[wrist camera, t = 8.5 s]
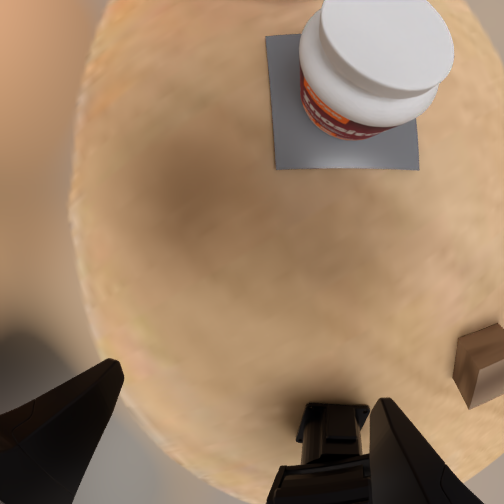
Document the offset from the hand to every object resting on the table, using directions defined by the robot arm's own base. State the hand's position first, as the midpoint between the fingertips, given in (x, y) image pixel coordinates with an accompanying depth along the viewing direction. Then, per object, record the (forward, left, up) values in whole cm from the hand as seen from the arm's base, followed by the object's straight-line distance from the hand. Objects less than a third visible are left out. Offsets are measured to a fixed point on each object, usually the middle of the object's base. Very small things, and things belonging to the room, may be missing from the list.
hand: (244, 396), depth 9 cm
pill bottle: (+12, -3, -13) cm, 18 cm away
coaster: (+12, -3, -14) cm, 19 cm away
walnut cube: (-7, -20, -14) cm, 25 cm away
